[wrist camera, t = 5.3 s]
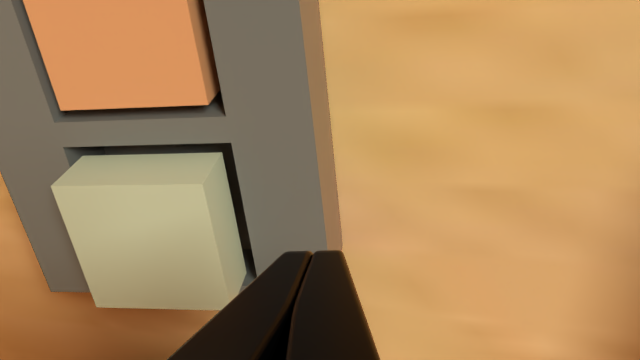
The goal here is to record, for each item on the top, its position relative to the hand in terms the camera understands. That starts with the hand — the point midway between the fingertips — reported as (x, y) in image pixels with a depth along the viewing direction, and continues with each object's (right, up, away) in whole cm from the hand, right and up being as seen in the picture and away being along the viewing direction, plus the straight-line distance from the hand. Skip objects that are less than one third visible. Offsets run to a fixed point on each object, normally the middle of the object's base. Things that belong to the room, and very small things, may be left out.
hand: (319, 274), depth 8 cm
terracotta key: (-5, +6, +8) cm, 11 cm away
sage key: (-5, 0, +10) cm, 11 cm away
